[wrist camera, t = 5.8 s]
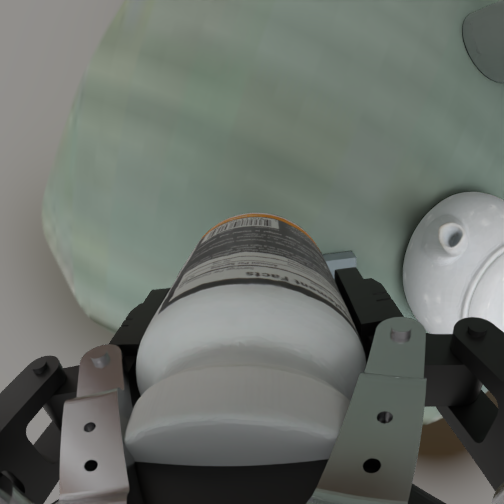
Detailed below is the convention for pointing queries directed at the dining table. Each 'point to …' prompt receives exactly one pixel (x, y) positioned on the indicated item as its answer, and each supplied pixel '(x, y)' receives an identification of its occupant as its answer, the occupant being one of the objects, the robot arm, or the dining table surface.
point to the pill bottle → (246, 353)
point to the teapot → (457, 263)
